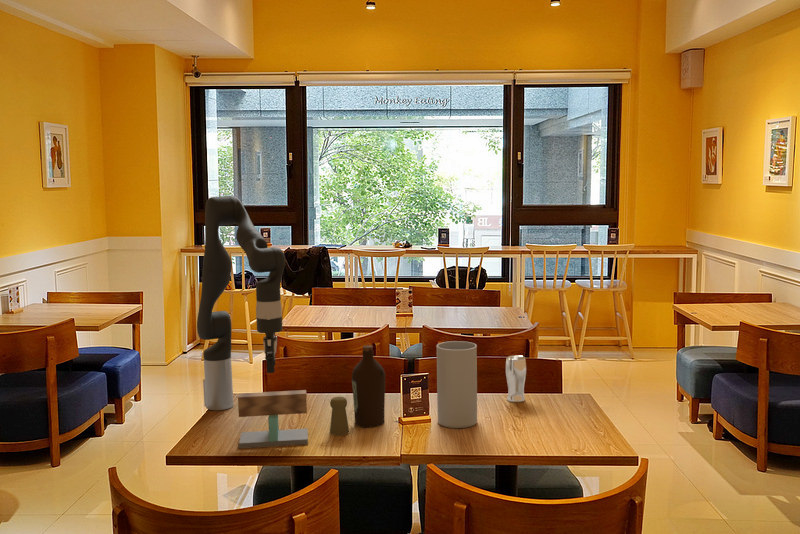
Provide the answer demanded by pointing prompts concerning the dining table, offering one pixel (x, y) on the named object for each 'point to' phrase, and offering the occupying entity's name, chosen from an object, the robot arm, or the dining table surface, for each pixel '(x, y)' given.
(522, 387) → the beer glass
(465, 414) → the cylinder vase
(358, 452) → the dining table surface
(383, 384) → the olive oil
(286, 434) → the balance stand
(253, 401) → the walnut bar
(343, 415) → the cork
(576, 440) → the dining table surface
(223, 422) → the dining table surface
